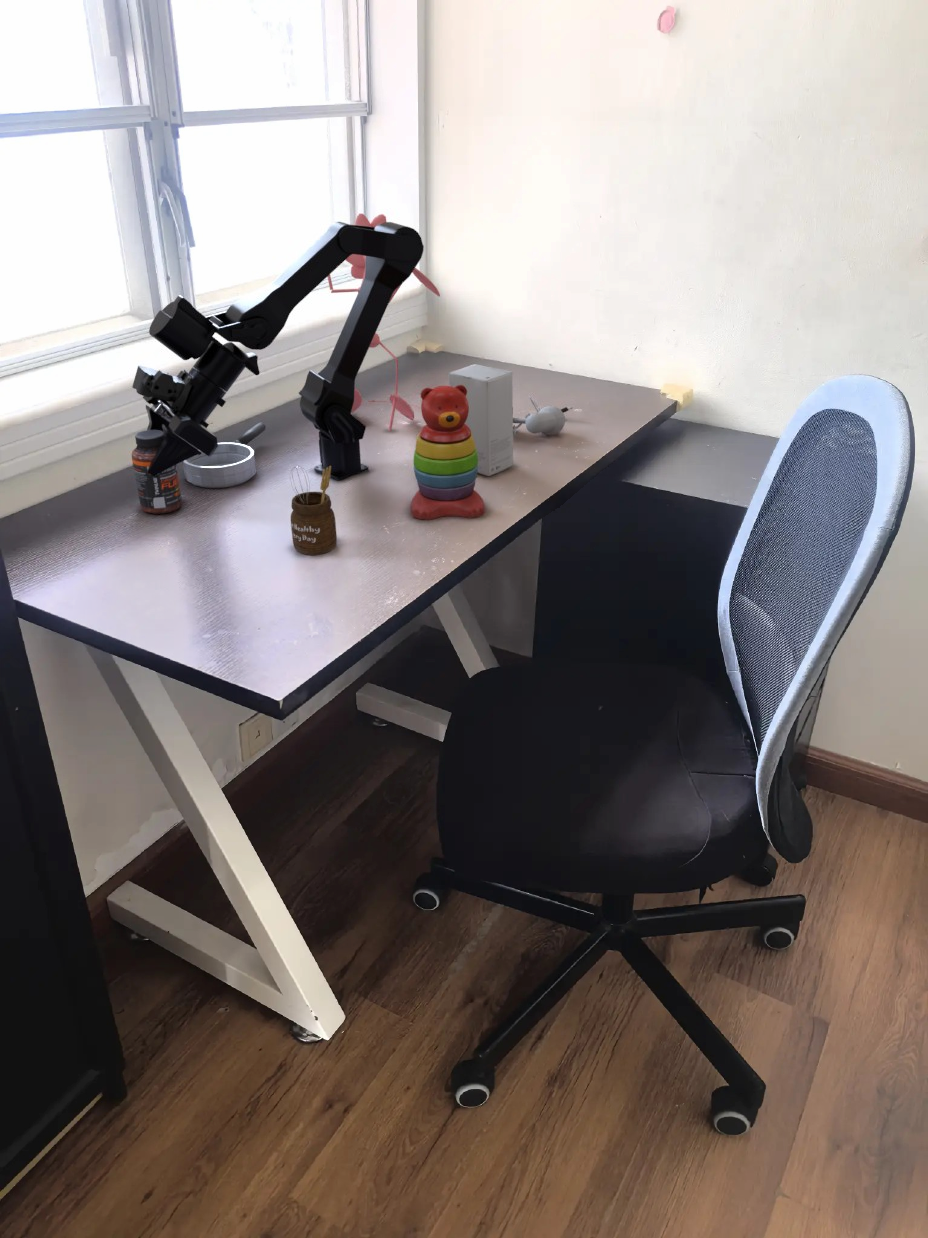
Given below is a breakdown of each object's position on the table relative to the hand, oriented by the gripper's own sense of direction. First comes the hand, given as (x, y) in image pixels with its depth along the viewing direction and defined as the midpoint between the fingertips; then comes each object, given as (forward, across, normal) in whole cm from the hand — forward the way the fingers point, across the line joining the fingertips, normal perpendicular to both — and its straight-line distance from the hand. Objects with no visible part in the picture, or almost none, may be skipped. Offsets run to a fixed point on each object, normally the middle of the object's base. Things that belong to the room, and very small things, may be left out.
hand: (144, 466), depth 133 cm
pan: (-4, -8, +14) cm, 16 cm away
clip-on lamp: (-43, 0, +52) cm, 68 cm away
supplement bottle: (+4, 0, +6) cm, 7 cm away
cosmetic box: (-31, +10, +40) cm, 52 cm away
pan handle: (-11, -15, +17) cm, 26 cm away
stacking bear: (-22, +21, +32) cm, 44 cm away
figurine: (-29, -21, +39) cm, 53 cm away
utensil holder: (-7, +24, +16) cm, 30 cm away
